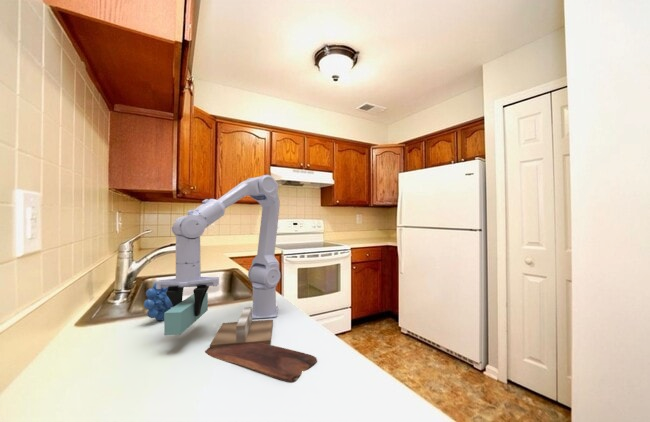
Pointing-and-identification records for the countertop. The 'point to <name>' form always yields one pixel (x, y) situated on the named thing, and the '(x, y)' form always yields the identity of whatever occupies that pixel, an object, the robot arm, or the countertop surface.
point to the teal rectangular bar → (183, 316)
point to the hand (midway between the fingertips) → (188, 315)
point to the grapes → (157, 303)
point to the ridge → (243, 331)
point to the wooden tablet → (266, 359)
